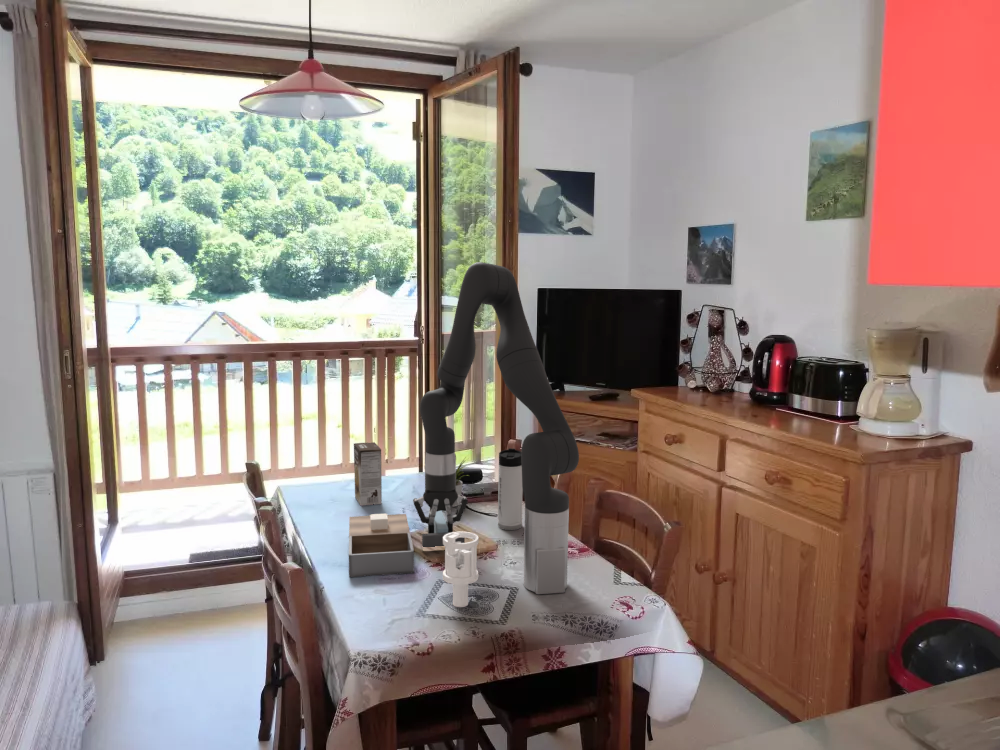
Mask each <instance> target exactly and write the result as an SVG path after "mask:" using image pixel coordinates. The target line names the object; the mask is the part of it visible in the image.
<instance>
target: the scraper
mask: <svg viewBox="0 0 1000 750" xmlns="http://www.w3.org/2000/svg"><path fill="white" fill-rule="evenodd" d="M443 512H444V511H437V512H436V516H435V519H434V533H428V532H427V533H421V540H422V541H421V546H423V547H435V546H444V545H443V536H444V535H446V534H448V533H451V532H448V526H447V523H446V522H447V521H446V518H445V515H444V513H443ZM462 532H465V531H462ZM465 539H466V538H463V537H460V538H457V539H455V542H461V543H466V542H465Z"/></svg>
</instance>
